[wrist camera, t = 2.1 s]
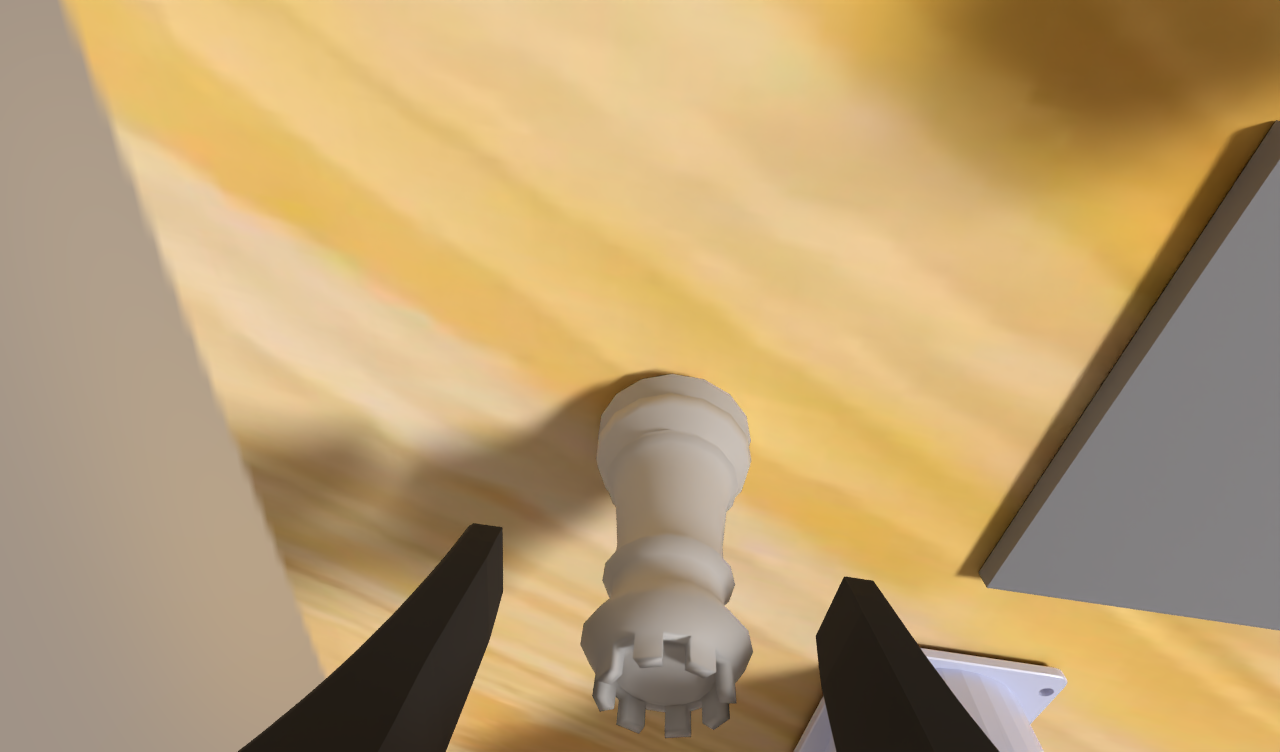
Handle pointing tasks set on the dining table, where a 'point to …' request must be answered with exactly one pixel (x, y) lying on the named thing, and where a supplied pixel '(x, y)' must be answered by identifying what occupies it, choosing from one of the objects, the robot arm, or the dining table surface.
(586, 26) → the dining table surface
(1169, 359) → the rubber mat
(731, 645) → the rook chess piece
